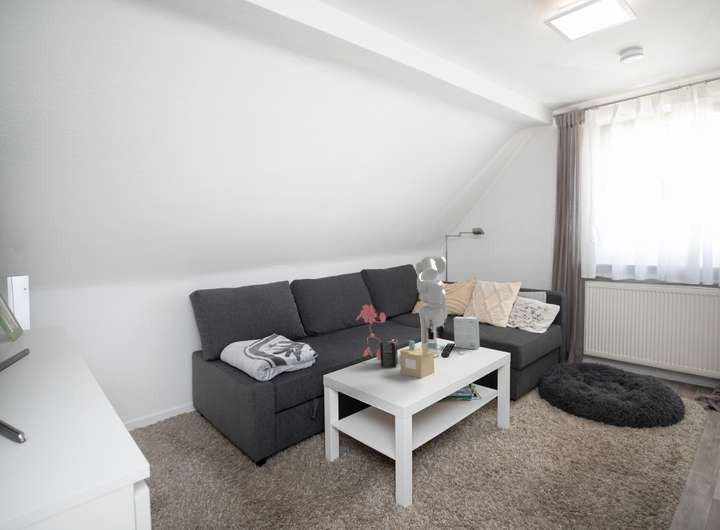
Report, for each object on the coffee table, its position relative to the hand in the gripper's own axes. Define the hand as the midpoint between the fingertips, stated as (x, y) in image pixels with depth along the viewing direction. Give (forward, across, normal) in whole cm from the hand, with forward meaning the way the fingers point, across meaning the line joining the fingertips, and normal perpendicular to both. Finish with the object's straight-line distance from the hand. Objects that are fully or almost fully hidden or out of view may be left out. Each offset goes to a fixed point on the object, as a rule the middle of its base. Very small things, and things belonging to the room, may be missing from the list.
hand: (436, 337), depth 219 cm
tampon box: (+22, -1, -34) cm, 41 cm away
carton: (+22, +1, -12) cm, 25 cm away
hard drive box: (+24, -63, -18) cm, 70 cm away
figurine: (+23, -2, -51) cm, 56 cm away
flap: (+6, +1, -5) cm, 8 cm away
